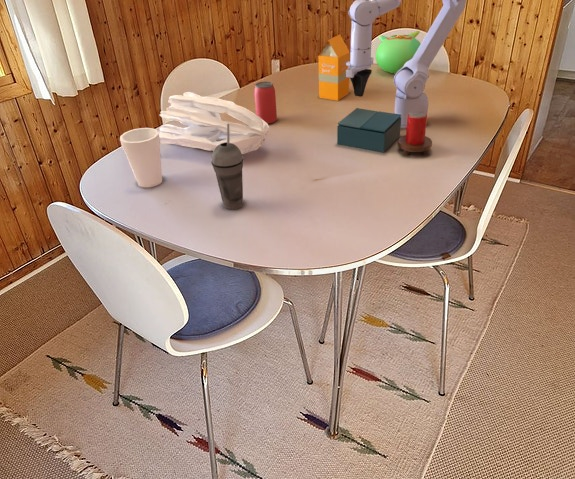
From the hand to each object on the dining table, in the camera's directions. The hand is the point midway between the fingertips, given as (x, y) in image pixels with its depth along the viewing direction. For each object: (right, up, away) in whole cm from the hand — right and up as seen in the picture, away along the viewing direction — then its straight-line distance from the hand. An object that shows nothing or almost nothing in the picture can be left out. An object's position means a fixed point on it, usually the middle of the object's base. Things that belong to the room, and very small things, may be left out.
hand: (359, 95), depth 145 cm
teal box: (+3, -14, -2) cm, 14 cm away
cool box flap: (-1, -8, -4) cm, 9 cm away
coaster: (+14, -18, -10) cm, 25 cm away
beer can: (-28, -4, +15) cm, 32 cm away
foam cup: (-57, -27, -15) cm, 65 cm away
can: (+13, -16, -12) cm, 24 cm away
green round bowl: (+23, +24, +51) cm, 60 cm away
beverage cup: (-34, -34, -27) cm, 55 cm away
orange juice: (-4, +9, +32) cm, 34 cm away
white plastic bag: (-43, -16, -1) cm, 46 cm away
